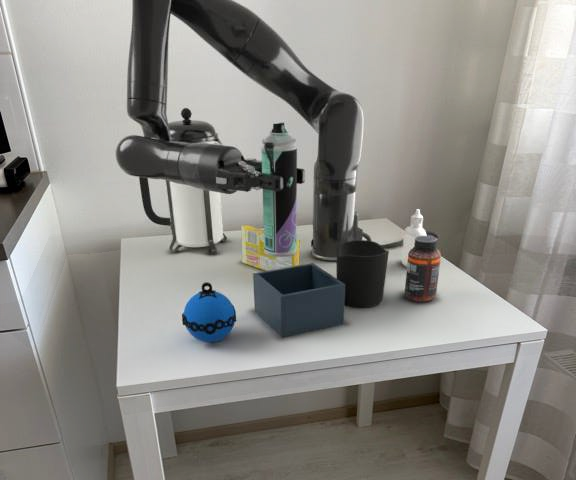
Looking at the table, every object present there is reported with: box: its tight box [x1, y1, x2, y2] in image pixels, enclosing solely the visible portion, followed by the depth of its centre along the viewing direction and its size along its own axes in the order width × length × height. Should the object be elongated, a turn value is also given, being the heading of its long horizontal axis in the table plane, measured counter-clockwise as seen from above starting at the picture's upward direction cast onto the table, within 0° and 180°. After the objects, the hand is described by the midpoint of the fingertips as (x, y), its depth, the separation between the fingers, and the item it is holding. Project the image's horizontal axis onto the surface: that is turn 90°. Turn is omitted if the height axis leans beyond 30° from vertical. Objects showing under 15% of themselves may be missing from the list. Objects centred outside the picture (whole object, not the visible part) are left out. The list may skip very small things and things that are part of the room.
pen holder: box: [335, 239, 390, 309], centre depth 104 cm, size 9×9×10 cm
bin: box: [252, 262, 345, 339], centre depth 98 cm, size 12×12×7 cm
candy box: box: [240, 224, 301, 271], centre depth 118 cm, size 16×2×8 cm, turn 45°
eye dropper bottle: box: [400, 208, 428, 268], centre depth 119 cm, size 4×6×12 cm
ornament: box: [181, 281, 237, 344], centre depth 90 cm, size 9×9×10 cm
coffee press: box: [138, 107, 228, 255], centre depth 127 cm, size 17×16×30 cm
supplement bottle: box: [404, 235, 442, 303], centre depth 104 cm, size 6×6×11 cm
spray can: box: [260, 122, 298, 257], centre depth 90 cm, size 6×6×20 cm
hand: (292, 180), depth 88 cm, fingers closed on spray can, 5 cm apart
